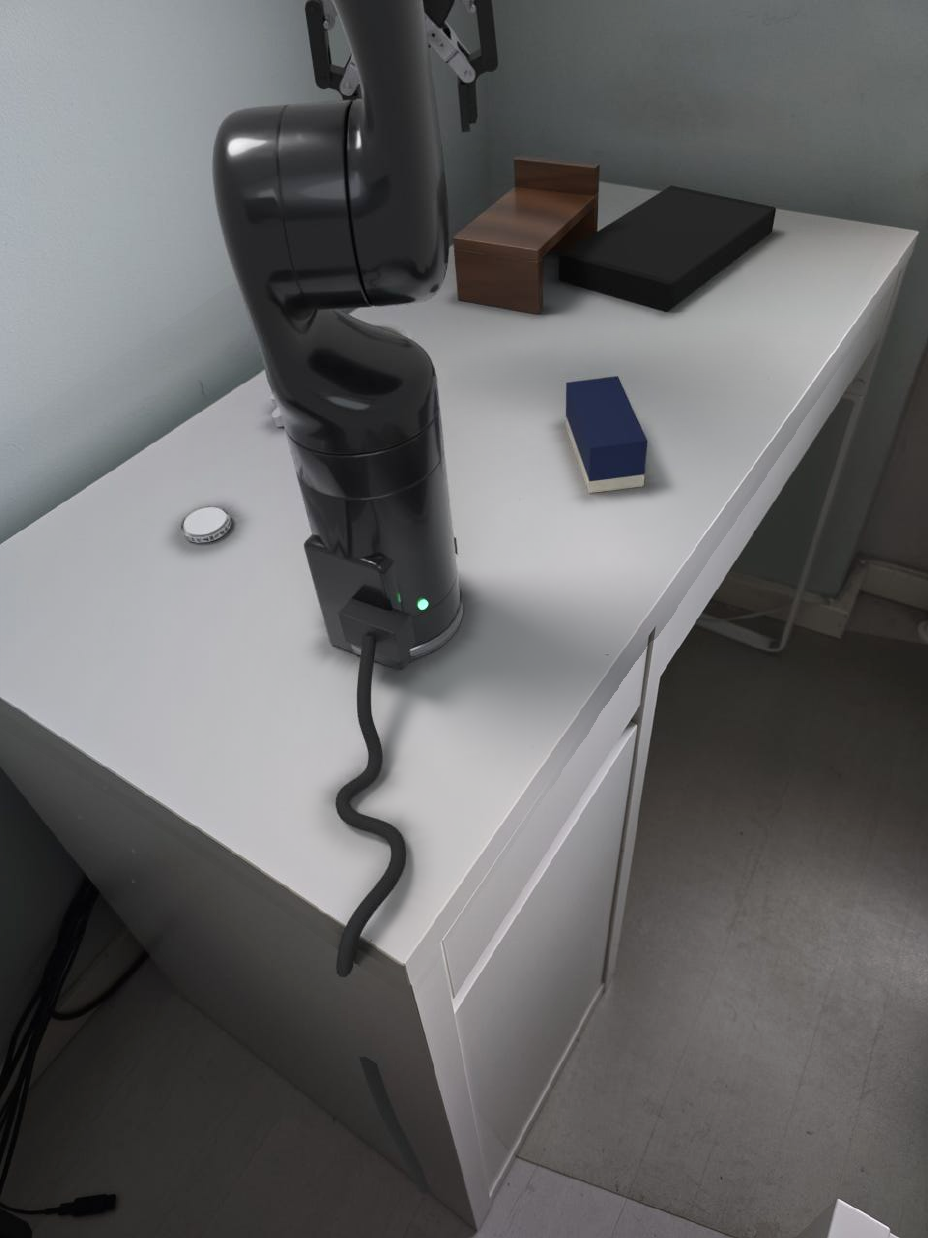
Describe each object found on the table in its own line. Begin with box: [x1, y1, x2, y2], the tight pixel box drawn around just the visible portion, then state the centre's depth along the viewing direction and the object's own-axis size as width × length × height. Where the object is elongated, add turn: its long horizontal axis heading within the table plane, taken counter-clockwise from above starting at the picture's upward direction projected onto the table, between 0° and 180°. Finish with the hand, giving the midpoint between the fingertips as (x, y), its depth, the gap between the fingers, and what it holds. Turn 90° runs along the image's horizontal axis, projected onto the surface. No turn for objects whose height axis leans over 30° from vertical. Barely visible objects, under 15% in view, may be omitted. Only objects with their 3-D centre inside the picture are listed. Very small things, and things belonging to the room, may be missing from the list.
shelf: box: [452, 154, 601, 315], centre depth 97 cm, size 16×10×10 cm, turn 151°
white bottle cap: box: [180, 505, 232, 544], centre depth 72 cm, size 4×4×1 cm
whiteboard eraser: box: [565, 375, 648, 494], centre depth 74 cm, size 10×5×4 cm, turn 6°
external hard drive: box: [558, 185, 777, 313], centre depth 100 cm, size 14×23×3 cm, turn 139°
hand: (414, 132), depth 72 cm, fingers open, 8 cm apart
